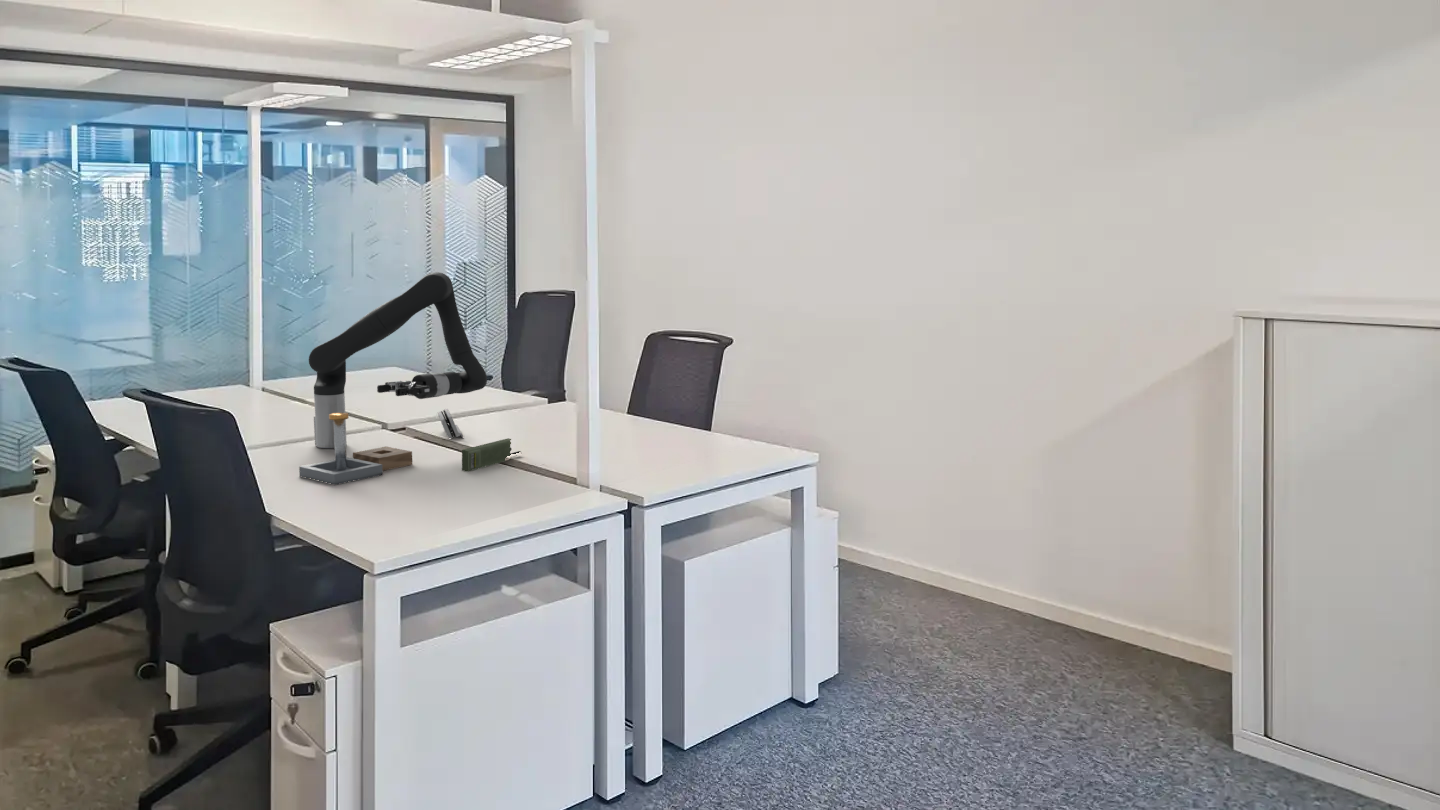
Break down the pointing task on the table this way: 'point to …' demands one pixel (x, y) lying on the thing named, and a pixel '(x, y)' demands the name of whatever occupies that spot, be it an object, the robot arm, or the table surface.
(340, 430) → the pin
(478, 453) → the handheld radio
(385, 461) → the socket block
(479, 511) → the table surface
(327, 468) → the tray
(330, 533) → the table surface
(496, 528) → the table surface
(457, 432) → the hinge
